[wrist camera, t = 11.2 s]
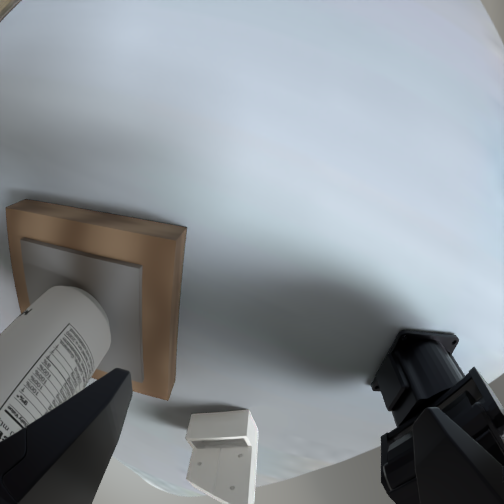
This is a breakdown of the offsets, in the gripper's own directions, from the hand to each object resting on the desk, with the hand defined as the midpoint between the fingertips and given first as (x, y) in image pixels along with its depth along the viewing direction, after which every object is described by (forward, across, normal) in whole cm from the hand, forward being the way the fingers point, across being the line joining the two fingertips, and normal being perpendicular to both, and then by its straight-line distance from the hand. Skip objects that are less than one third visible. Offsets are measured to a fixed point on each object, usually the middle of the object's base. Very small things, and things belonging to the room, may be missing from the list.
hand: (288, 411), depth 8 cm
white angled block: (+13, +1, +19) cm, 23 cm away
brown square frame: (+13, +13, +7) cm, 20 cm away
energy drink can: (+10, +13, +7) cm, 18 cm away
